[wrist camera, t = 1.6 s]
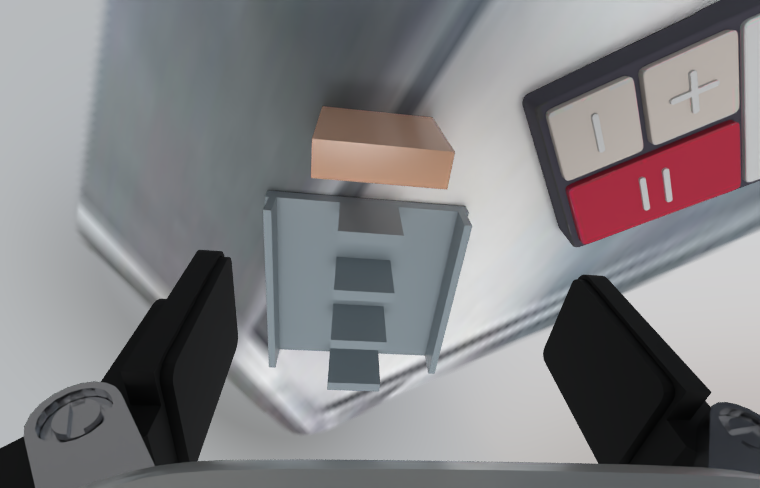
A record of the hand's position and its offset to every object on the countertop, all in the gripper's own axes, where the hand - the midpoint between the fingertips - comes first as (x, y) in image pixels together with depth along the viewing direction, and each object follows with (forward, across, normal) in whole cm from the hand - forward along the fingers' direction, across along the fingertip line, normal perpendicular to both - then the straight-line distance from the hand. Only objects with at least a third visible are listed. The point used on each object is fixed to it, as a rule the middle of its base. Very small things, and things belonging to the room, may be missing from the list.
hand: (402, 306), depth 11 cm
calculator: (+18, -18, -2) cm, 26 cm away
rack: (+18, 0, +12) cm, 21 cm away
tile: (+18, 0, 0) cm, 18 cm away
